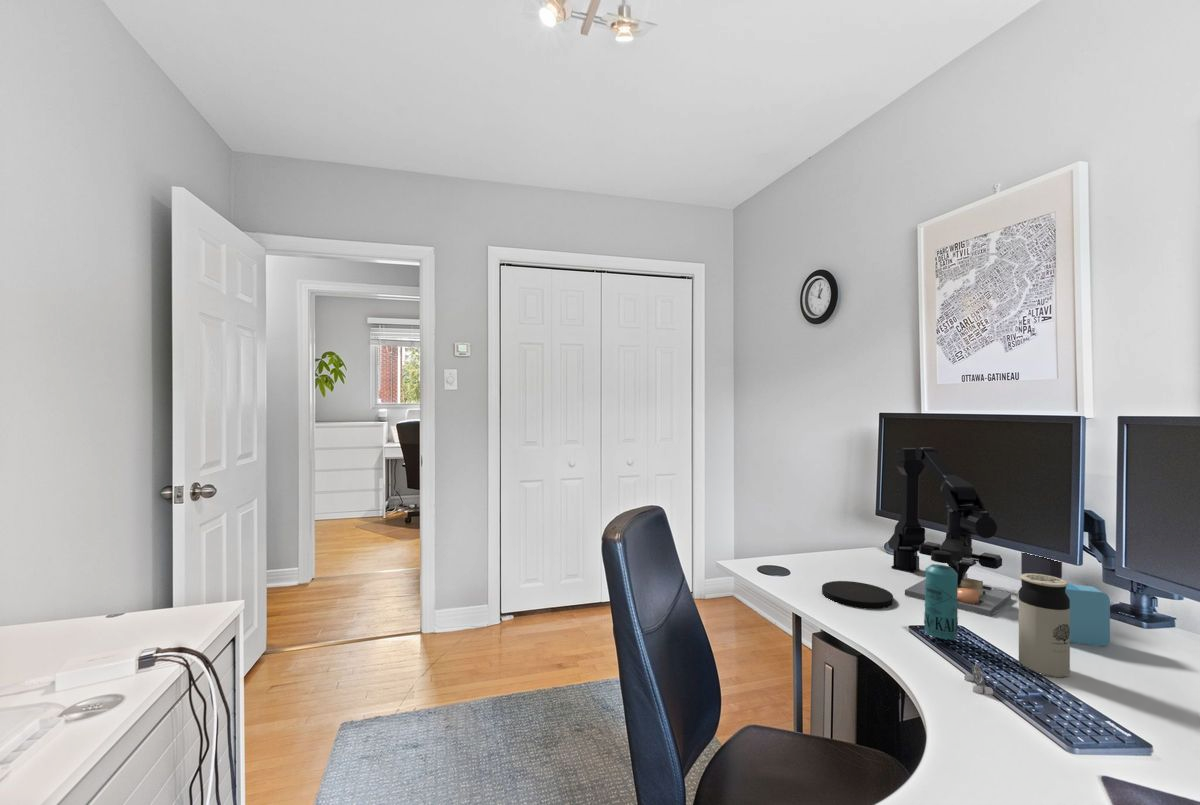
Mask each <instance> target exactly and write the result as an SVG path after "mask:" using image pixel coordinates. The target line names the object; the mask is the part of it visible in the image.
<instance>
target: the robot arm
mask: <svg viewBox="0 0 1200 805" xmlns="http://www.w3.org/2000/svg"><path fill="white" fill-rule="evenodd" d="M894 457H895V458H894V459H895V466H896V468H897V469H898V472H899V473H900V474H901V486H900V487H901V488H900V490H901V491H900V493H901V495H900V519H898V522H897V523H896V524H895V525H894V530H893V532H894V533H893V534H892V535H891V537H890V538H889V540H888V542H887V543H888V549H891V550H892V551H893V557H892V558H893V565H891V566H890V567H891V569H895V570H900V571H904V572H908V573H914V572H917V571H918V570H920V555H924V556H929V557H931V554H932V551H934V550H940V551H946V552H950V553H951V554H952V560H953V562H952V563H946V564H947V566H949V567H951V568H953V569H954V570H955V571H956V572H957V573H958V582H957V585H958V586H959V585H960V584H961V580H963V578H964V576H965V574H966V573H967V572H968V571H969V569H970V567H973V566H975V565H976V564H977V563H978V564H979V565H980V566H981V567H982V568H989V569H994V570H997V569H999V568H1001V567H1002V566H1003V558H1002V557H1001V555H1000V554H995V553H990V552H982V553H981V554H976V553H973V552H974V551H973V537H974V536H976V537H979V538H982V539H990V538H993V536H995V534H997V530H998V525H997V524H996V521H995V520H994V519H993V518H992V517H991V516H990V512H989V511H986V508H985V505H984V503H983V500H981V497H980V495H979V493H978V490H977V489H976V488H975V486H974V485H972V484H971V483H970V482H969V481H968V480H965V479H963V478H961V477H960V476H958V475H957V474H955V472H954V471H953V470H952V469H951V468H950V466H949V465H948V464H947V463H946V462H945V460H944V459H943V458H942V457H941V456H940V455H939V453H938V450H937V449H936V448H934V447H931V446H930V447H929V446H928V447H925V446H922V447H901V448H899V449H898V450H897V451H896V452H895V454H894ZM925 469H927V470H928V472H929V473H930V474H931V475H932V476H933V478H934V479H935V480H936V482H937V483H938V484H939V486H940V495H941V496H942V497H943V499H944V501H945V503H946V504H947V505H945V506H944V507H943V510H944V511H947V532H946V533H945V534H946V535H945V538H944V541H943V542H942V543H937V542H931V541H926V529H925V527H924V526H922V524H921V523H920V521H919V504H920V503H919V496H920V495H919V494H920V476H921V474H922V473H923V471H924V470H925ZM925 541H926V542H925ZM918 553H919V554H920V555H918Z"/></svg>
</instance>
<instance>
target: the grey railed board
mask: <svg viewBox="0 0 1200 805" xmlns="http://www.w3.org/2000/svg"><path fill="white" fill-rule="evenodd" d="M925 584H926V578H925V579H923V580H921V581H919V582H916V583H915V584H913V585H912V586H910V587H908V588H906V589H904V596H905V597H909V598H910V597H911V598H914V599H917V600H922V601H924V600H925V590H924V587H925ZM957 588H961V586H960V585H959V586H958V585H957ZM1010 600H1012V593H1010V592H1007V591H1006V592H1005V591H1002V590H996V589H992V587H991V586H989V585H985V584H983V594H982V595H981V596H980V595H979V604H978V605H970V604H966V603H962V602H958V609H959V610H962V611H966V612H971V613H974V614H978V615H981V616H982V615H983V616H987V617H992V616H993V615H994V614H995V613H996V612H998V611H999V609H1001V608H1003V607H1004V606H1005V605H1006V604H1007V603H1009V601H1010Z"/></svg>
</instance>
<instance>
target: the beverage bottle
mask: <svg viewBox="0 0 1200 805" xmlns="http://www.w3.org/2000/svg"><path fill="white" fill-rule="evenodd" d="M930 560H931V561H933V562H935V564H933V563H932V564H930V565H929V566H927V567H925V569H924V570H925V579H926V584H925V587H924V590H925V600H923V601H924V616H923V625H924V631H925V633H926V634H928V635H930V636H932V637H934V638H938V639H944V640H954V639H956V638H957V636H958V634H959V633H958V626H959V625H958V624H959V617H958V611H959V610H958V601H957V582H958V573H957V572H956V571H955V570H954V569H953V568H951V567H949V565H945V564H947V563H952V562H953V560H952V554H951V553H950V552H946V551H940V550H934V551H932V554H931V556H930ZM938 563H939V564H938ZM941 563H942V564H941Z"/></svg>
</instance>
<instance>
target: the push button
mask: <svg viewBox="0 0 1200 805" xmlns="http://www.w3.org/2000/svg"><path fill="white" fill-rule="evenodd" d="M957 601H958V602H962V603H966V604H970V605H974V606H978V604H979V592H978V591H975V590H972V589H968V588H957Z"/></svg>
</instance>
